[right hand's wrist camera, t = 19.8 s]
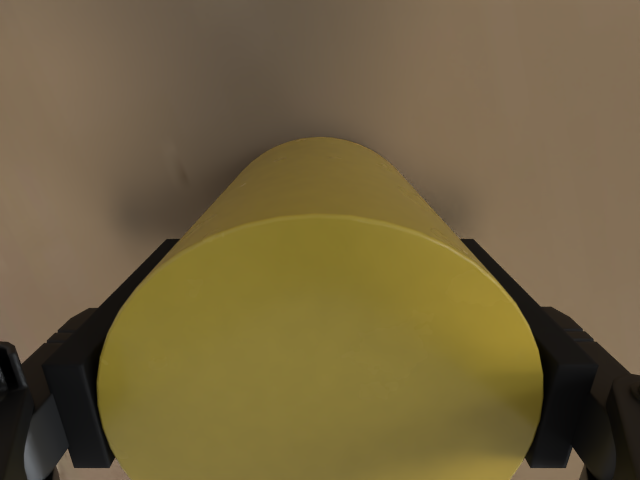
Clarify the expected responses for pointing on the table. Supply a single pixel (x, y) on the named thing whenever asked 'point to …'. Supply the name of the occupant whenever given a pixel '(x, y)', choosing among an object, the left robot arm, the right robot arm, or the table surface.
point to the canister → (320, 338)
